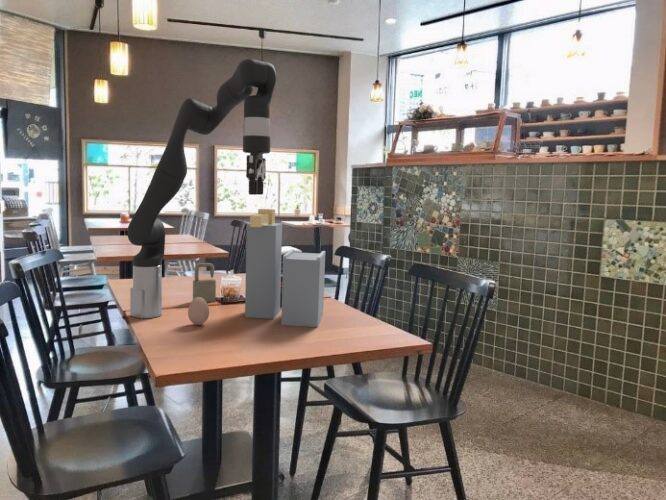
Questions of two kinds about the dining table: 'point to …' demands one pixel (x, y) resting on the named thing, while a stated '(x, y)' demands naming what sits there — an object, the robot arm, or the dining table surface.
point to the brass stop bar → (263, 218)
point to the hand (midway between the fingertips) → (256, 194)
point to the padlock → (204, 284)
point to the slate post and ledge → (298, 279)
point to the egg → (198, 311)
